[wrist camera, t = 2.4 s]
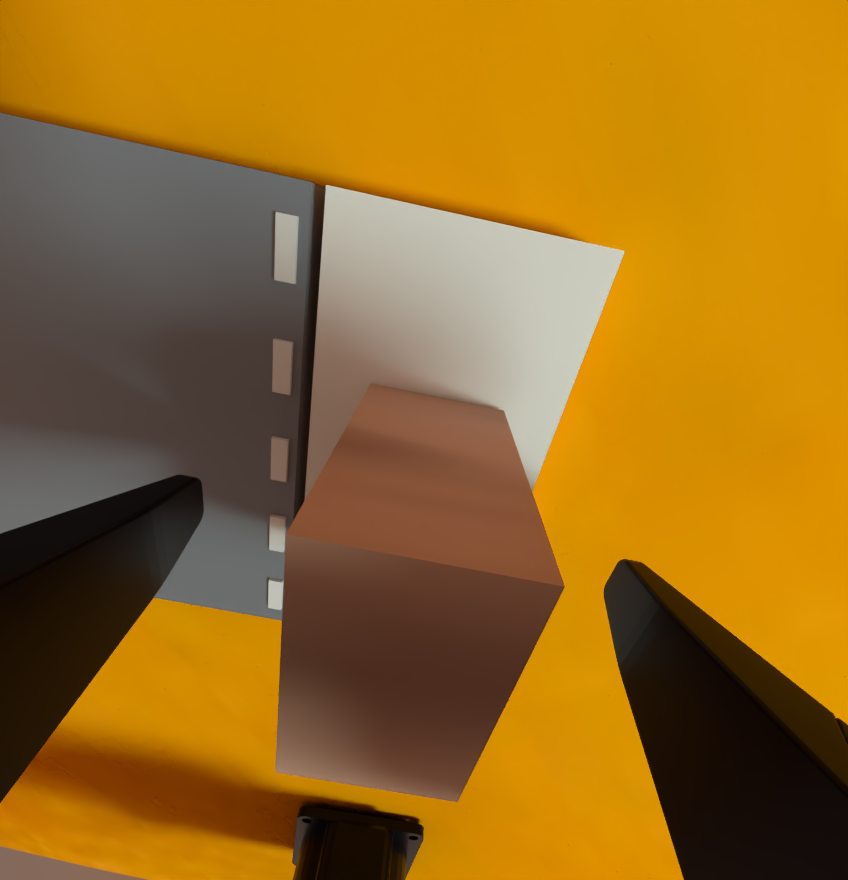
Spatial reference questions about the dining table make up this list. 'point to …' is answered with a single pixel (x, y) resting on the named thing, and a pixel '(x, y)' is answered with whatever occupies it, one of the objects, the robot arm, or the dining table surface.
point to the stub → (425, 487)
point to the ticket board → (158, 344)
